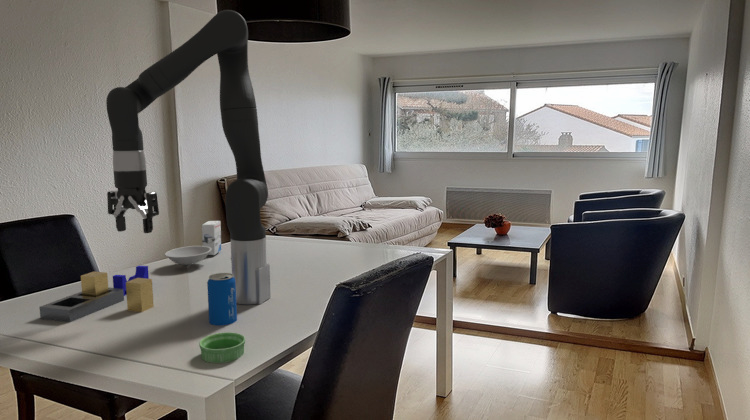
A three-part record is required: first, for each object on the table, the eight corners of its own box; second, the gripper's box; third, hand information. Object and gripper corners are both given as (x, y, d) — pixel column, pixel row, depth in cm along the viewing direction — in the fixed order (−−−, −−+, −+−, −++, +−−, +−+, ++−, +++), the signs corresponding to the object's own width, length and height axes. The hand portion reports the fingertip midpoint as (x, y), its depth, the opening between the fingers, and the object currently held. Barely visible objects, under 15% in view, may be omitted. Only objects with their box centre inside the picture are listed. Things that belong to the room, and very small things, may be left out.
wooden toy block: (153, 308, 139) (151, 279, 137) (142, 314, 134) (140, 283, 133) (139, 306, 140) (137, 277, 139) (127, 312, 136) (125, 282, 134)
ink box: (209, 250, 206) (208, 220, 205) (222, 250, 206) (221, 220, 205) (202, 255, 198) (200, 224, 196) (215, 255, 198) (214, 224, 196)
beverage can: (222, 331, 123) (220, 281, 121) (203, 325, 126) (201, 277, 125) (242, 322, 128) (241, 274, 127) (224, 317, 132) (222, 271, 130)
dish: (193, 273, 173) (192, 258, 172) (155, 270, 177) (154, 255, 176) (221, 260, 190) (220, 246, 189) (185, 258, 193) (185, 244, 193)
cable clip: (135, 284, 161) (134, 265, 160) (149, 285, 160) (147, 266, 159) (109, 296, 149) (107, 275, 148) (123, 297, 149) (122, 276, 148)
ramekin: (190, 366, 105) (189, 345, 104) (219, 349, 113) (218, 329, 112) (228, 374, 102) (227, 352, 101) (254, 355, 110) (254, 335, 109)
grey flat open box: (124, 301, 144) (123, 288, 144) (70, 324, 127) (69, 310, 127) (97, 298, 147) (96, 286, 146) (40, 320, 130) (39, 306, 129)
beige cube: (109, 301, 142) (107, 272, 141) (96, 306, 138) (94, 277, 137) (95, 300, 143) (93, 271, 142) (83, 305, 139) (80, 275, 138)
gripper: (163, 168, 134) (167, 230, 137) (119, 167, 139) (124, 227, 141) (141, 170, 127) (145, 236, 130) (95, 169, 132) (101, 233, 134)
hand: (134, 231), depth 135 cm, fingers open, 8 cm apart
